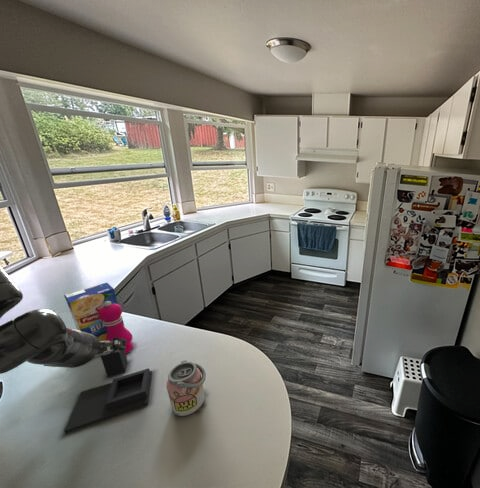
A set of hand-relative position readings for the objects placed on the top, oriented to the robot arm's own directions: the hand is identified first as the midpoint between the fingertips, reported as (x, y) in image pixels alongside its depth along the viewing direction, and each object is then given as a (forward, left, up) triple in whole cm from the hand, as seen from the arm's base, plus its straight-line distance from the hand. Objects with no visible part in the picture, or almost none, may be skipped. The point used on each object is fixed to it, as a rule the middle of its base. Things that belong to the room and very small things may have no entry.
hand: (99, 353), depth 69 cm
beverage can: (+25, -3, -14) cm, 29 cm away
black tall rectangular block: (-4, +7, -13) cm, 16 cm away
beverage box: (-16, +17, -14) cm, 27 cm away
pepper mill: (-9, +15, -14) cm, 22 cm away
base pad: (+3, -3, -13) cm, 14 cm away
